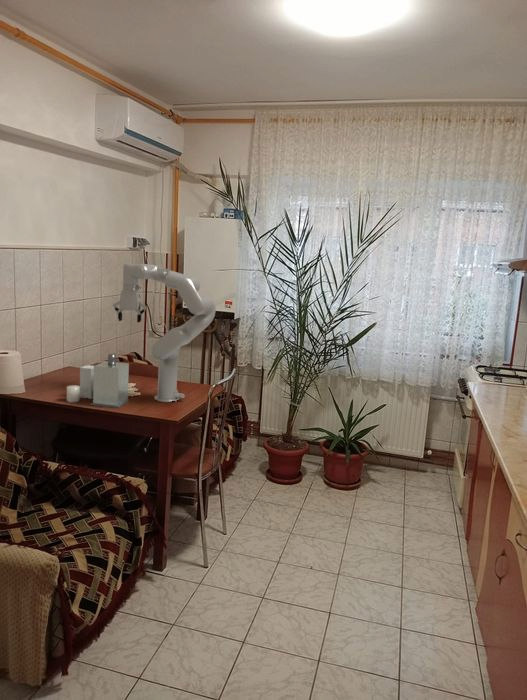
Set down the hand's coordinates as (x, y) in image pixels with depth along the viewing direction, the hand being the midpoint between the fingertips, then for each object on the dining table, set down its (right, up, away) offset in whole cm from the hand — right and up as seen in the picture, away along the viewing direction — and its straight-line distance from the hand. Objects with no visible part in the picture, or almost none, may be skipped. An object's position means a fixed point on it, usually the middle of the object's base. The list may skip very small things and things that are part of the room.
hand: (129, 321), depth 275 cm
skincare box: (-20, -39, -4) cm, 43 cm away
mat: (-6, -41, -13) cm, 43 cm away
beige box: (-6, -40, -13) cm, 42 cm away
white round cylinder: (-24, -39, -13) cm, 48 cm away
